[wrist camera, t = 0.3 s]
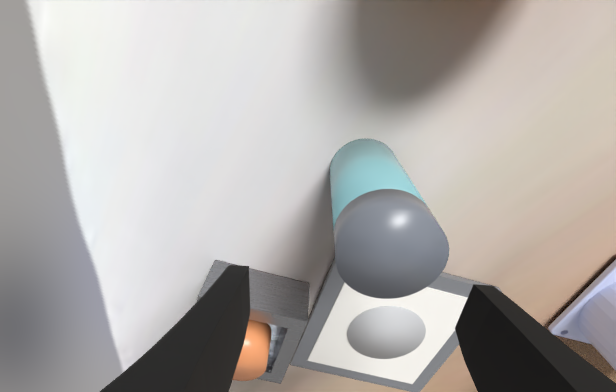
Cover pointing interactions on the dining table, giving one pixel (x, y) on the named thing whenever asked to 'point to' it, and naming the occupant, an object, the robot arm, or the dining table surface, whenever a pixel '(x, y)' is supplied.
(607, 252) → the dining table surface
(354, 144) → the marker
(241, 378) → the button
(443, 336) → the board
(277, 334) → the button housing
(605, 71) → the dining table surface
